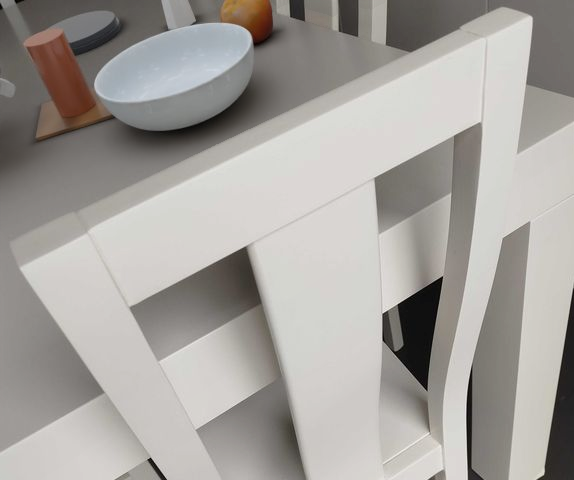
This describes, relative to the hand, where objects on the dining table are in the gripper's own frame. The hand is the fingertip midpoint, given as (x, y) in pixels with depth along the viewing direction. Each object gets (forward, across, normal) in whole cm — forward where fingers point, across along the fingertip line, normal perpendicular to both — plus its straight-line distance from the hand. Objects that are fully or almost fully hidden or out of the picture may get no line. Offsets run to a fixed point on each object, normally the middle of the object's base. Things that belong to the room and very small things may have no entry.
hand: (6, 81), depth 80 cm
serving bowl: (+18, +16, +8) cm, 26 cm away
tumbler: (+10, 0, 0) cm, 10 cm away
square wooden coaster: (+10, 0, 0) cm, 10 cm away
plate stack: (+17, -31, +7) cm, 36 cm away
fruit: (+31, +3, +20) cm, 37 cm away
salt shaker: (+28, -16, +17) cm, 37 cm away
